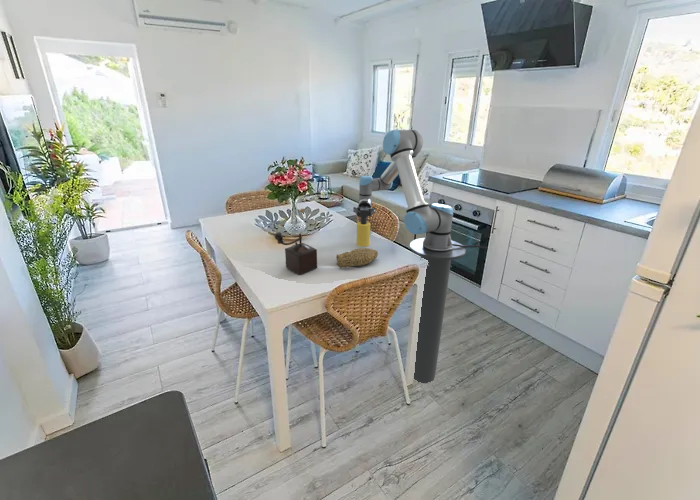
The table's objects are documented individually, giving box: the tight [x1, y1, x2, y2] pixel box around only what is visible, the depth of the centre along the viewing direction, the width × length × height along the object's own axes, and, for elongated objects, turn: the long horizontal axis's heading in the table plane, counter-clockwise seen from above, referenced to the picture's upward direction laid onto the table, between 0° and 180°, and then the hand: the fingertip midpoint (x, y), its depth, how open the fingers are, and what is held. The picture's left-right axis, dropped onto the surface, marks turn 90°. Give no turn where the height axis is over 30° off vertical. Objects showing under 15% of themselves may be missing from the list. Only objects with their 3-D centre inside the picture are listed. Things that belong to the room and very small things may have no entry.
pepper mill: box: [273, 231, 318, 276], centre depth 152 cm, size 16×11×18 cm
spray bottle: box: [355, 207, 371, 248], centre depth 182 cm, size 7×8×20 cm
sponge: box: [335, 247, 379, 269], centre depth 162 cm, size 13×8×20 cm
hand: (363, 218), depth 182 cm, fingers closed
